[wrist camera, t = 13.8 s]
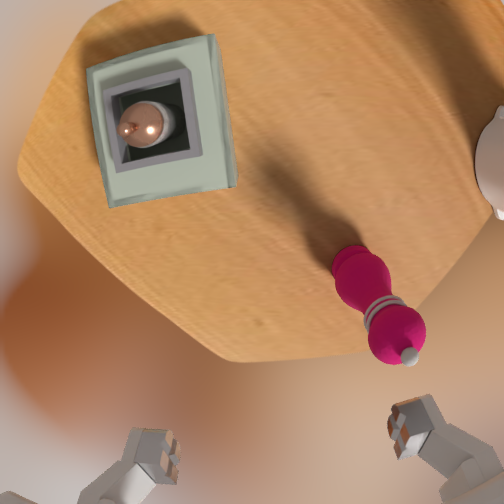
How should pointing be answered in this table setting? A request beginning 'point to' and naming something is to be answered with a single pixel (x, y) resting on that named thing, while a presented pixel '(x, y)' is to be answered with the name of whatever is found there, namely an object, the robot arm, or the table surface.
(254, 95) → the table surface
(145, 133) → the canister
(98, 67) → the green square holder
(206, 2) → the table surface
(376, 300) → the pepper mill
